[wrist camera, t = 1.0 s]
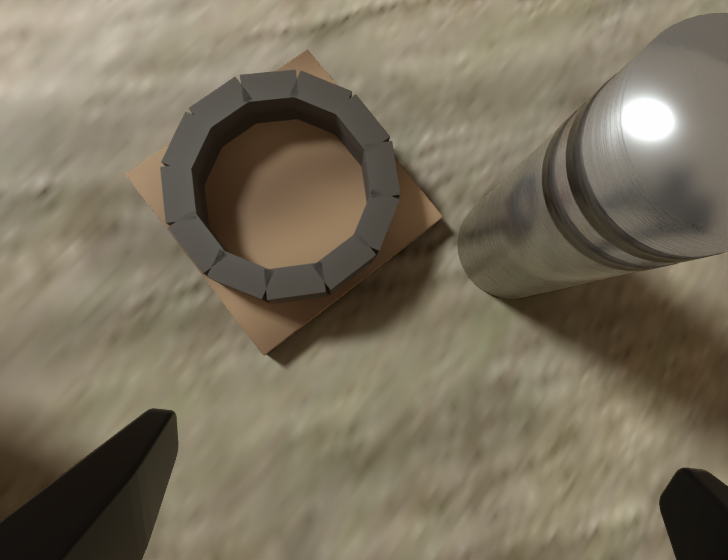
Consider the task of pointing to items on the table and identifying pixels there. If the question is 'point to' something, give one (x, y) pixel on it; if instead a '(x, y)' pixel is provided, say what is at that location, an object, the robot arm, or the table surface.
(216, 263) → the collar
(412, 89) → the table surface
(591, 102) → the cylinder
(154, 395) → the table surface
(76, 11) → the table surface
